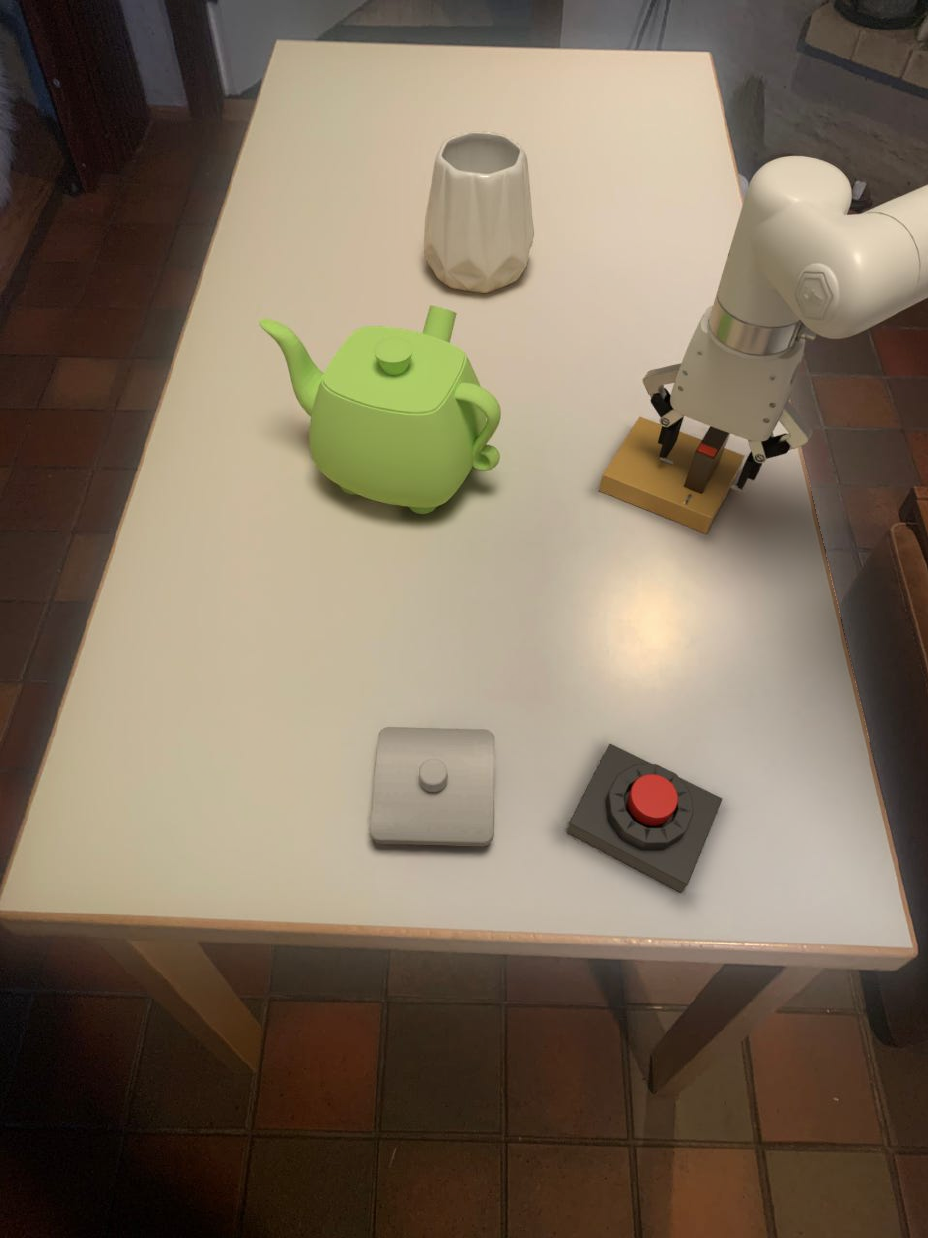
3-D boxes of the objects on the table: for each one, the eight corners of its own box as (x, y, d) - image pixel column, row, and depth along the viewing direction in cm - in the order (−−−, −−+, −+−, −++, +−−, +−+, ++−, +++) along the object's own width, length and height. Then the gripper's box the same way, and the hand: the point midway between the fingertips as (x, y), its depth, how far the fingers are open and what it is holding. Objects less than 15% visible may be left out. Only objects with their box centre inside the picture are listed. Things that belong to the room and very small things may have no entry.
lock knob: (701, 456, 89) (713, 419, 84) (719, 463, 88) (732, 426, 84) (683, 486, 86) (695, 449, 82) (701, 494, 86) (714, 457, 81)
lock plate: (752, 477, 91) (759, 459, 88) (720, 540, 86) (727, 523, 83) (635, 432, 94) (639, 414, 92) (599, 490, 89) (602, 473, 87)
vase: (492, 226, 116) (497, 110, 104) (552, 279, 110) (565, 162, 97) (405, 258, 112) (398, 141, 99) (462, 315, 105) (463, 197, 93)
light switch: (371, 851, 68) (365, 829, 63) (380, 740, 73) (376, 713, 69) (493, 854, 68) (495, 833, 63) (493, 742, 73) (495, 716, 69)
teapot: (535, 410, 96) (547, 287, 83) (472, 549, 85) (475, 433, 72) (335, 359, 101) (317, 236, 87) (250, 485, 89) (215, 365, 76)
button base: (716, 808, 70) (729, 789, 67) (681, 893, 66) (693, 878, 63) (605, 753, 73) (613, 733, 69) (566, 832, 69) (571, 814, 65)
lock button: (680, 795, 67) (684, 787, 65) (663, 834, 65) (667, 826, 63) (637, 774, 68) (641, 766, 66) (620, 812, 66) (623, 804, 64)
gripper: (870, 326, 71) (799, 472, 85) (677, 263, 75) (641, 412, 90) (845, 378, 67) (775, 521, 82) (643, 308, 72) (612, 456, 86)
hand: (705, 463), depth 86 cm, fingers open, 7 cm apart
